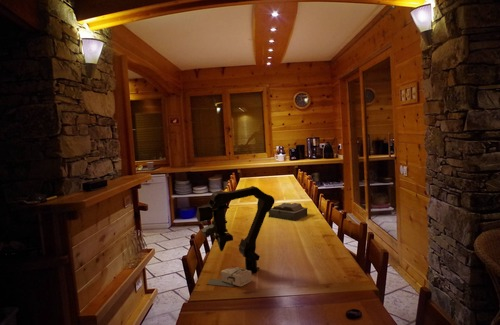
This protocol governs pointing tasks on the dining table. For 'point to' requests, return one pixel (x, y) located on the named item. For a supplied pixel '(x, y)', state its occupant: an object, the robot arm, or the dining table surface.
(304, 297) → the dining table surface
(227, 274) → the ink box
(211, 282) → the slate mat
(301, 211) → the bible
